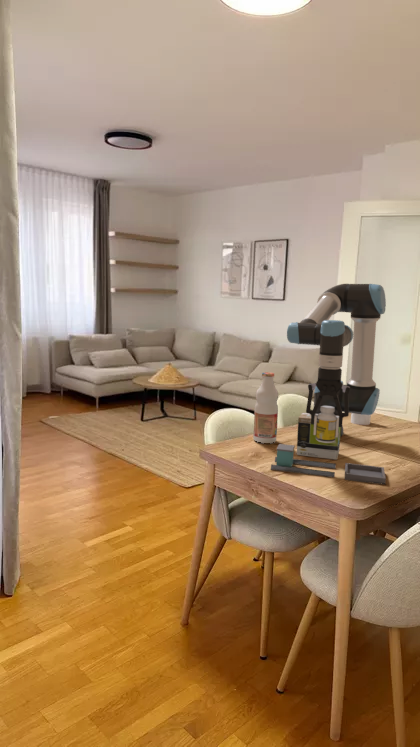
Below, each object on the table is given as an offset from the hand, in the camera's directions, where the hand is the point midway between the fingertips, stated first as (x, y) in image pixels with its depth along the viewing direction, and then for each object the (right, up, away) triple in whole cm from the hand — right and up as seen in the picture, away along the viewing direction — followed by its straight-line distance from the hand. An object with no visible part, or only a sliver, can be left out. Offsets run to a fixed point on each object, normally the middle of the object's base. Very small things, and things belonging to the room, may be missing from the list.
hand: (325, 434), depth 170 cm
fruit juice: (-17, -7, +36) cm, 40 cm away
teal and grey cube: (-13, -12, +5) cm, 18 cm away
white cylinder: (+34, -3, +73) cm, 81 cm away
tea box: (+2, -10, +20) cm, 23 cm away
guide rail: (-7, -12, +3) cm, 14 cm away
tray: (+12, -13, -2) cm, 18 cm away
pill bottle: (0, -2, 0) cm, 2 cm away
